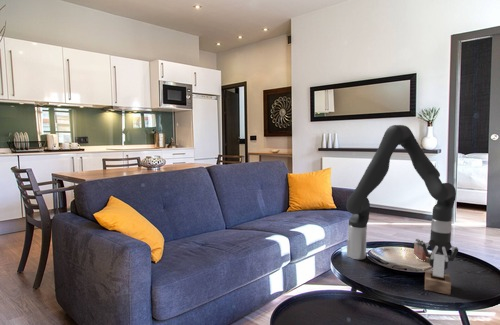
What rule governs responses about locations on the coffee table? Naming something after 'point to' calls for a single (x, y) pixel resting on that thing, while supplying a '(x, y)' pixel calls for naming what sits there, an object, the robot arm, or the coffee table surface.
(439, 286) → the slot holder
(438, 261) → the square peg
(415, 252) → the terracotta planter
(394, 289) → the coffee table surface
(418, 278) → the coffee table surface
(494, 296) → the coffee table surface
